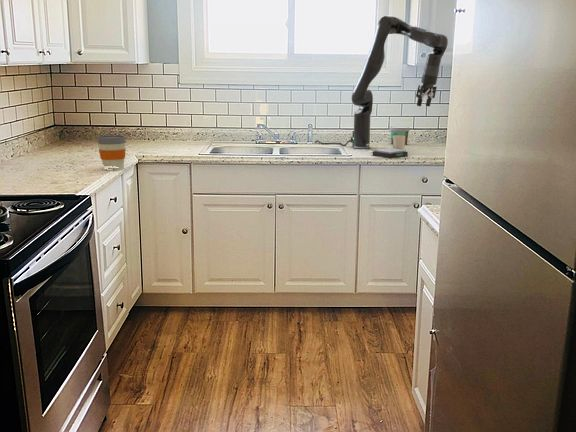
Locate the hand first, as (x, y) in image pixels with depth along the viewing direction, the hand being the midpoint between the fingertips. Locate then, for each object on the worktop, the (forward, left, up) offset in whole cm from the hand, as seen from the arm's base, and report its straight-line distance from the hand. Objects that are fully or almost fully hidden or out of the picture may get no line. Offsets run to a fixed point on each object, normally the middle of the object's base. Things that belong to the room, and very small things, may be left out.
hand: (423, 106), depth 318 cm
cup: (-16, 0, -26) cm, 30 cm away
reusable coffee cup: (-61, -143, -26) cm, 158 cm away
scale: (-10, -13, -26) cm, 30 cm away
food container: (-40, +25, -26) cm, 54 cm away
